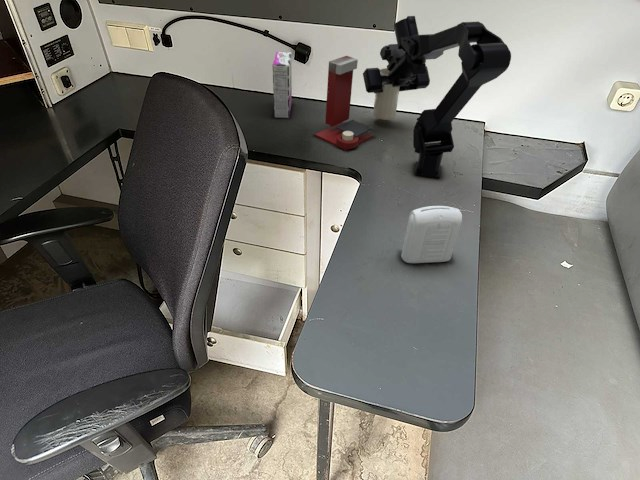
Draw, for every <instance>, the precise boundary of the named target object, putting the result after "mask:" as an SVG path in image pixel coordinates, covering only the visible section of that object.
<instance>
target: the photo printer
mask: <svg viewBox="0 0 640 480" xmlns="http://www.w3.org/2000/svg"><path fill="white" fill-rule="evenodd" d="M462 223H463V215H462V212H461V211H460V209H459V208H456V207H453V206H447V205H430V206H422V207H419V208H416V209H413V210H411V211H410V213H409V216H408V222H407V225H406V229H405V230H406V231H405V234H404V239H403V243H402V249H401V255H400V257H401V259H402V260H403V261H404V262H405V263H407V264H425V263H426V264H429V263H444V262H449V261H451V258H452V255H453V253H454V248H455V245H456V243H457V240H458V236H459V233H460V229H461V226H462Z"/></svg>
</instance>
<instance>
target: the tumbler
mask: <svg viewBox="0 0 640 480" xmlns="http://www.w3.org/2000/svg"><path fill="white" fill-rule="evenodd" d="M379 69H380V74H381V76H388V74H389V70H387V67H381V68H379ZM399 89H400V86H399V87H392V85H384V87H383V92H381V93H376V94H374V102H373V111H372V114H373V116H374V117H375V118H376V119H379V120H383V121H384V120H385V121H386V120H393V119H394V118H395V117H396V115H397V110H398V109H397V108H398V103H399V95H400V92H399Z"/></svg>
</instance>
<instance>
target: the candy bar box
mask: <svg viewBox="0 0 640 480" xmlns="http://www.w3.org/2000/svg"><path fill="white" fill-rule="evenodd" d="M292 83H293V81H292V52H291V51H275V55H274V59H273V61H272V88H273V91H272V92H273V118H275V119H290V116H291V110H292V104H293V102H292V101H293V99H292V97H293V93H292V89H293V88H292Z"/></svg>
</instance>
